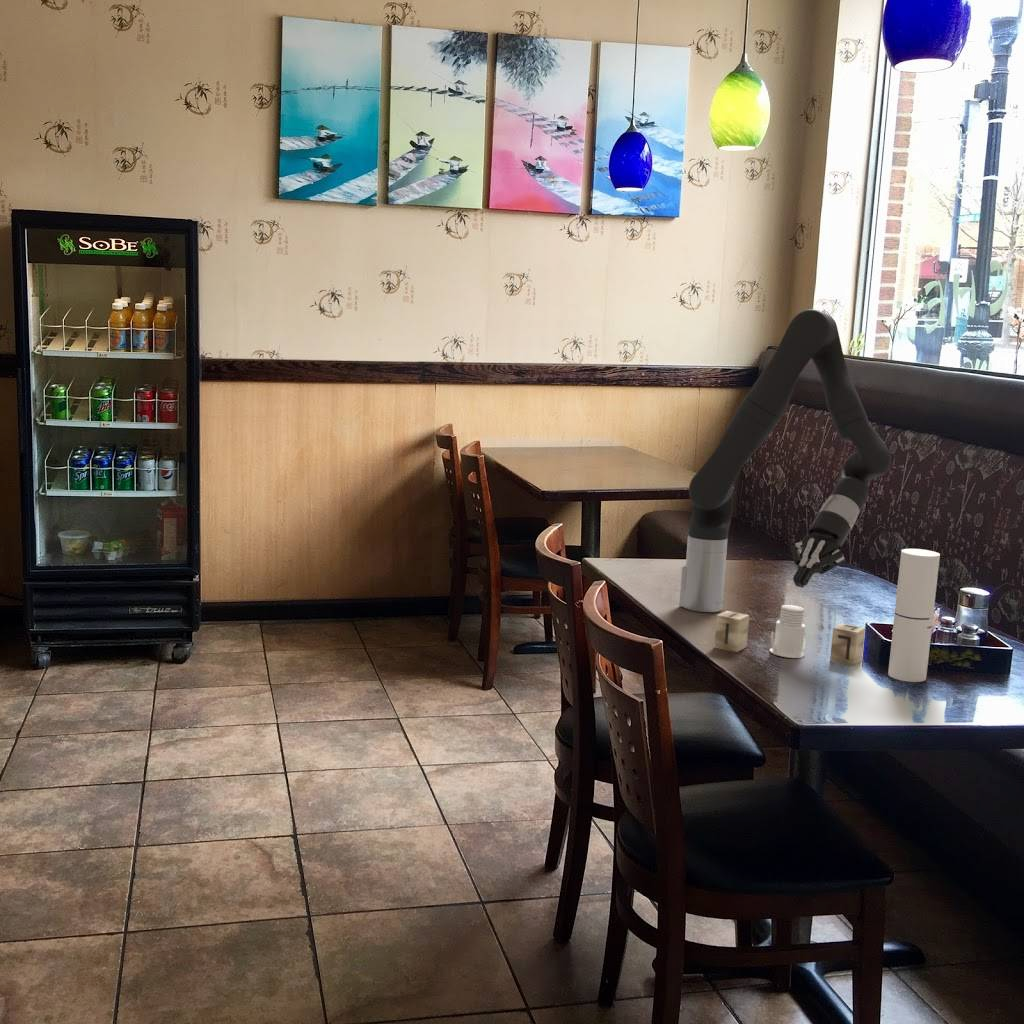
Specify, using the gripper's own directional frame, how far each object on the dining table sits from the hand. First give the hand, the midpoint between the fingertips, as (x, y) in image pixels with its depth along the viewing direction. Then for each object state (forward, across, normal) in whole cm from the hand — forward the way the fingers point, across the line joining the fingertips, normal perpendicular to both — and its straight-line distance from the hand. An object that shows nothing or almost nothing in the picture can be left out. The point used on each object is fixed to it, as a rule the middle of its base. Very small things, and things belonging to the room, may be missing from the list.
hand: (798, 584), depth 245 cm
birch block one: (+16, -10, +5) cm, 19 cm away
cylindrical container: (+7, +24, +13) cm, 28 cm away
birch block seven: (+7, +10, +13) cm, 18 cm away
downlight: (+12, 0, +9) cm, 15 cm away
